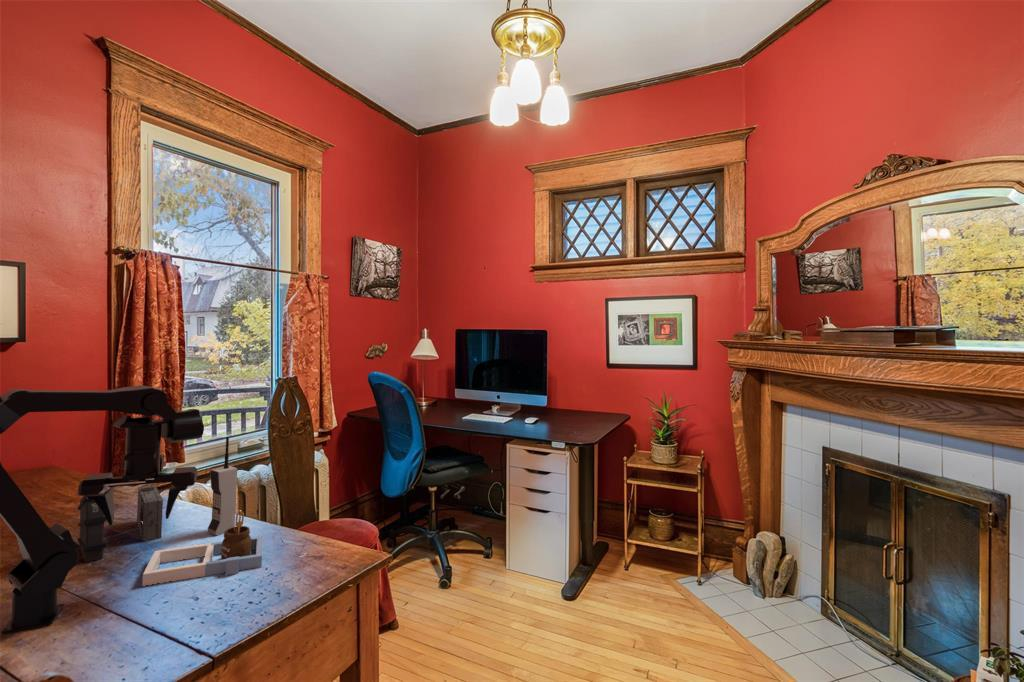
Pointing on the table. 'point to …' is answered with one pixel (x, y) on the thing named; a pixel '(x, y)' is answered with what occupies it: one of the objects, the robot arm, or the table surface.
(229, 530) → the utensil holder
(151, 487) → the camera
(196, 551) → the beige grey rectangular frame
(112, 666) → the table surface
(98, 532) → the dark ridged block
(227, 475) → the vintage mobile phone
